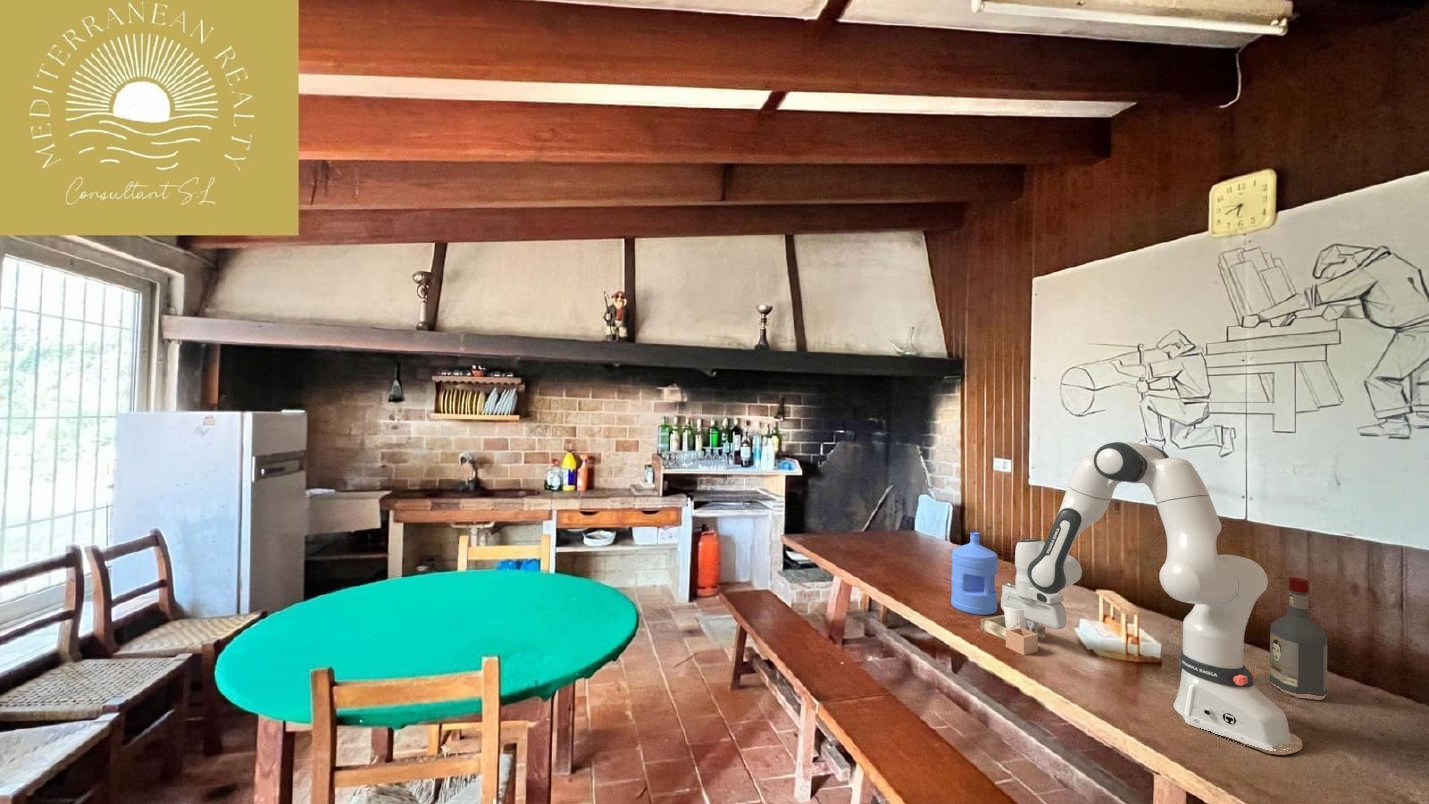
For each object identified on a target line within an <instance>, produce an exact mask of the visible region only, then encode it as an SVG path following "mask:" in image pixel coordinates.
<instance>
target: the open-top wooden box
mask: <svg viewBox="0 0 1429 804" xmlns="http://www.w3.org/2000/svg"><path fill="white" fill-rule="evenodd" d="M1038 641H1039V637H1038V634H1035V633H1033V632H1031V631H1028V630H1026V629H1023V628H1021V627H1018V628H1013V629H1008V630H1006V640H1005V648H1008V649H1010V650H1011V651H1013V652H1016V653H1018V654H1021V655H1023V656H1026V655H1030V654H1034V653H1038V650H1039V648H1038V647H1039V646H1038V645H1039V642H1038Z"/></svg>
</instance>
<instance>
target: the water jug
mask: <svg viewBox="0 0 1429 804" xmlns="http://www.w3.org/2000/svg"><path fill="white" fill-rule="evenodd" d="M969 533H970V537H969V539H970V542H969V543H966V544H963V545H960V546H957V547H954V548H953V549H952V551H951V552H952V553H951V578H950V579H951V581H950V582H951V596H950V602H951V606H952V607H953V608H955V609H956V610H958V611H961V612H963V613H966V614H971V615H979V616H989V615H993V614H995V613H996V612H997V611H998V592H997V590H996V587H995V586H996V585H995V580H996V579H995V578H996V577H995V576H996V575H997V574H998V567H999V560H998V556H999V555H998V554H997V553H996V552H995V551H993V550H991V549H989V548H987V547H986V546H983V545H982V544H981V543H980V540H981V539H980V534H981V533H980V532H976V531H970V532H969Z"/></svg>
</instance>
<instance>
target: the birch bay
mask: <svg viewBox="0 0 1429 804" xmlns="http://www.w3.org/2000/svg"><path fill="white" fill-rule="evenodd" d="M1036 629H1038V638H1040V639H1043V638H1046V626H1044V625H1042V624H1038V625H1037V626H1036ZM980 630H982V631H985V632H986V633H989V634H991V635H994V636H995V637H998V638H1000V639H1002V640H1005V641H1006V630H1008V628H1006V623H1005V616H1004V614H1000V615H996V616H990V617H985V618H980Z"/></svg>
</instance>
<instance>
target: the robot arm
mask: <svg viewBox="0 0 1429 804" xmlns="http://www.w3.org/2000/svg"><path fill="white" fill-rule="evenodd" d="M1123 482H1124V483H1129V484H1144V485H1146V486H1147V487H1148V488H1149V489H1150V492H1151V493H1152V495H1153V499H1154V501H1155V504H1156V507H1157V511H1158V513H1159V516H1160V519H1161V522H1162V524H1163V527H1164V530H1165V535H1166V536H1165V537H1166V544H1167V546H1166V547H1167V549H1166V550H1167V551H1166V558H1165V559H1166V560H1165V562H1164V563H1163V565H1162V566H1161V568H1160V571H1159V578H1158V579H1159V582H1160V585H1161V588H1162V589H1163V590H1164V591H1165V592H1166V593H1165V594H1167V595H1169V597H1170V598H1172V599H1174V600H1176V601H1179V602H1182V603H1187V604H1193V605H1194V606H1193V608H1192V609H1191V611H1190V612H1188V614H1187V615H1186V616H1185V617H1184V619H1183V622H1182V649H1181V651H1180V652H1179V653H1180V657H1179V670H1180V673H1181V674H1180V675H1181V676H1180V683H1179V687H1178V692H1177V695H1176V699H1175V701H1174V703H1173V708H1174V710H1175V711H1176V713H1178V714H1179V715H1181V717H1182V718H1183V721H1184V720H1185V721H1184V722H1185V723H1186V724H1187V725H1189V726H1192V727H1193V728H1194V727H1195V728H1197V729H1200V728H1201V729H1200V730H1202V729H1204V730H1203V731H1205V730H1207V731H1206V732H1208V731H1211V732H1213V733H1215V734H1218V735H1221V736H1226V737H1229V738H1232V739H1235V740H1237V741H1240V742H1242V743H1244V744H1249V745H1252V746H1255V747H1259V748H1262V749H1265V750H1269V751H1273V750H1274V751H1276V749H1273V748H1272V747H1273V746H1279V747H1282V746H1285V745H1283V744H1293V743H1294V742H1290V740H1291V739H1290V738H1291V737H1290V733H1289V732H1290V728H1289V722H1288V719H1287V718H1288V717H1287V716H1286V714H1285V712H1284V711H1283V709H1281V708H1280V707H1279V706H1278V705H1277V704H1275V702H1274V701H1272V700H1271V699H1270V698H1268V697H1267V695H1265V694H1264V693H1263V692H1262V691H1261V690H1260V689H1258V687H1256V686H1255V685H1254V679H1256V678H1257V677H1258V676H1257V671H1253V672H1250V671H1249V670H1248V668H1247V667H1246V666H1245V664H1244V651H1245V650H1244V647H1245V646H1244V645H1245V632H1246V629H1247V625H1248V622H1249V619H1250V616H1251V613H1252V611H1253V609H1254V606H1255V604H1256V602H1257V601H1258V599H1259V597H1260V596H1261V595H1263V593H1265V591H1266V590H1267V587H1268V585H1269V583H1268V582H1269V581H1268V576H1267V573H1266V572H1265V569H1263V567H1262V566H1261V565H1260V564H1259V563H1257V562H1256V561H1254V560H1252V559H1250V558H1247V557H1243V556H1240V555H1239V556H1238V555H1233V554H1218V551H1217V538H1218V535H1219V534H1220V532H1221V531H1222V524H1221V523H1222V522H1221V521H1220V517H1219V516H1218V514H1217V511H1216V509H1215V508H1216V507H1215V506H1214V504H1213V501H1212V498H1211V496H1210V494H1209V492H1208V489H1207V487H1206V485H1205V483H1204V481H1203V480H1202V477H1201V476H1200V474H1199V473H1198V471H1197V470H1196V468H1195V467H1194V466H1193V464H1192V463H1191V462H1190V461H1189V460H1187V459H1185V458H1180V457H1170V456H1169V455H1168V453H1166V451H1164V450H1162V449H1160V448H1159V447H1157V446H1154V445H1148V444H1147V445H1146V444H1143V443H1142V444H1141V443H1137V442H1120V441H1115V442H1114V441H1113V442H1109V443H1106V444H1103V445H1102V446H1100V447H1099V448H1098V449H1097V450H1096V451H1095V453H1094V455H1093V454H1091V455H1090V454H1089V455H1086V456H1084V457H1083V458H1081V459H1080V461H1079V462H1078V464H1077V466H1076V467H1075V469H1074V470H1073V473H1072V475H1071V477H1070V480H1069V481H1068V485H1067V487H1066V491H1065V493H1064V496H1063V498H1062V502H1061V505H1060V507H1059V510H1058V513H1057V516H1056V518H1055V520H1054V523H1053V524H1052V527H1050V528H1051V529H1050V531H1049V533H1048V536H1047V538H1046V540H1045V541H1044V540H1043V539H1040V538H1024V539H1021V540H1019V541H1018V542H1017V543H1016V546H1015V550H1014V551H1015V553H1014V554H1015V555H1014V566H1015V569H1016V574H1015V579H1014V581H1015V584H1013V583H1011V582H1010V583H1009V582H1006V583H1004V584H1002V587H1001V592H1002V593H1001V599H1000V608H1001V609H1002V611H1003V612H1004V607H1003V605H1005V607H1008V608H1012V609H1019V610H1024V618H1025V619H1026V622H1027V624H1028V626H1029V627H1027V630H1028V631H1031V632H1033V633H1035V634H1038V629H1036V626H1037V625H1042V626H1044V627H1049V628H1052V629H1054V630H1061V629H1064V628H1065V627H1066V626H1067V617H1066V616H1067V612H1066V609H1065V605H1064V604H1063V603H1062V602H1064V601H1065V600H1064V599H1065V598H1064V595H1063V594H1061V593H1060V591H1062V590H1063V589H1065V588H1068V587H1070V586H1073V585H1075V584H1076V583H1077V582H1079V581H1081V579H1082V576H1083V568H1082V565H1081V564H1080V562H1079V561H1078V560H1077V558H1075V557H1074V556H1073V555H1071V554H1070V552H1071V550H1072V548H1073V545H1074V543H1075V541H1076V539H1077V538H1078V536H1079V535H1080V534H1082V532H1083V531H1084V530H1086V529H1087V528H1089V527H1090V526H1092V525H1093V524H1095V523H1097V522H1099V521H1100V519H1102V517H1103V515H1104V514H1105V512H1106V511H1107V509H1108V507H1109V505H1110V503H1111V500H1112V498H1113V494H1114V492H1115V489H1116V487H1117V486H1118V485H1119V484H1121V483H1123ZM1213 733H1212V734H1213ZM1215 734H1214V735H1215ZM1218 735H1217V736H1218ZM1221 736H1220V737H1221ZM1294 744H1299V743H1297V742H1296V743H1294ZM1287 749H1289V748H1287ZM1283 750H1286V749H1283ZM1287 751H1288V750H1287ZM1280 752H1282V751H1280Z"/></svg>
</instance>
